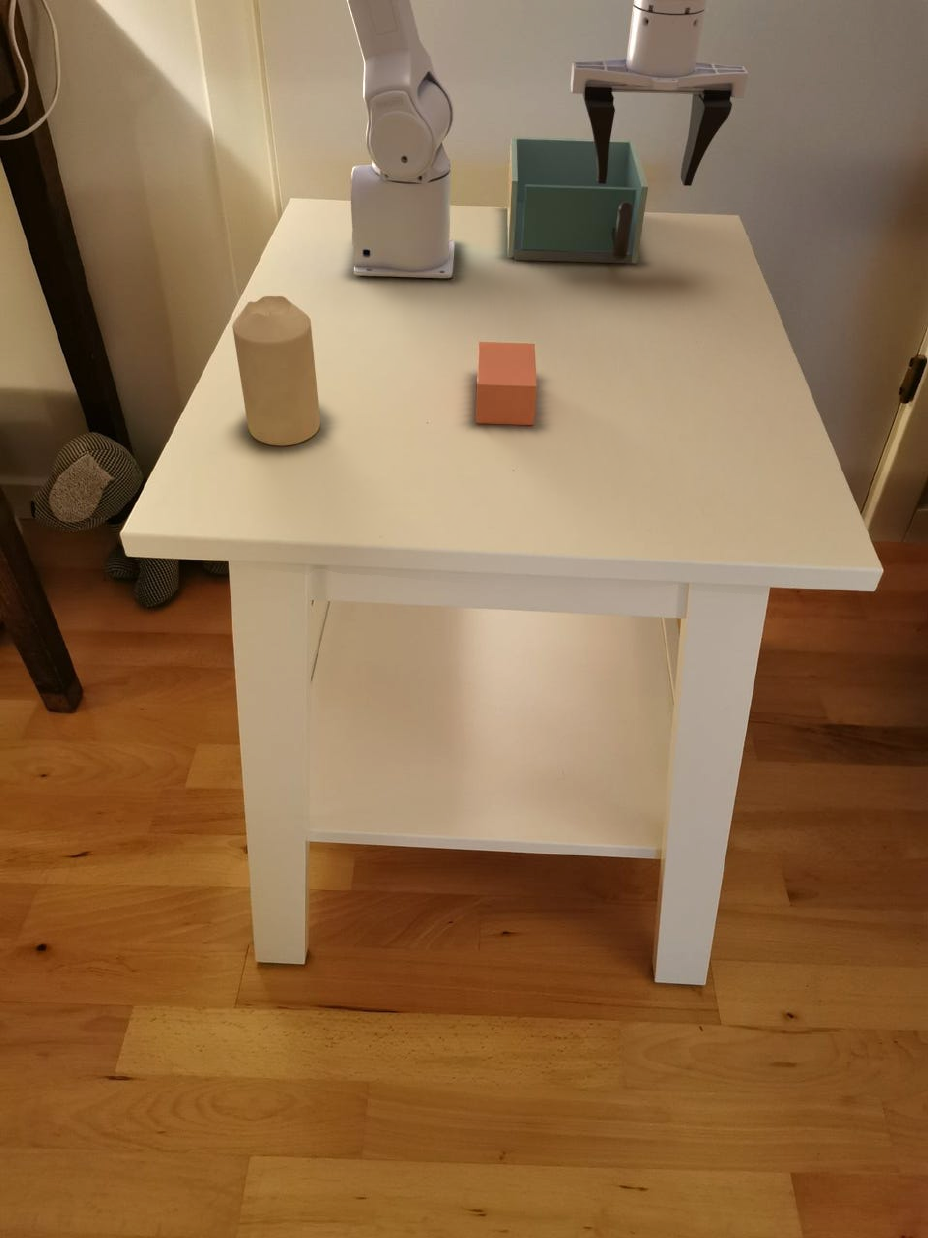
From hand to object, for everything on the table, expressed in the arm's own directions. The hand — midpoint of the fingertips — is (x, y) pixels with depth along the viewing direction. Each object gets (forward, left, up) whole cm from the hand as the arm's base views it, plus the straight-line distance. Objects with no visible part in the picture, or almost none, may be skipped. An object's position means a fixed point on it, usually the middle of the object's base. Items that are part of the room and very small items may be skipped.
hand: (643, 180), depth 88 cm
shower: (-5, +10, -9) cm, 15 cm away
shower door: (-5, +1, -8) cm, 10 cm away
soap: (-12, -23, -9) cm, 27 cm away
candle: (-29, -27, -10) cm, 41 cm away
